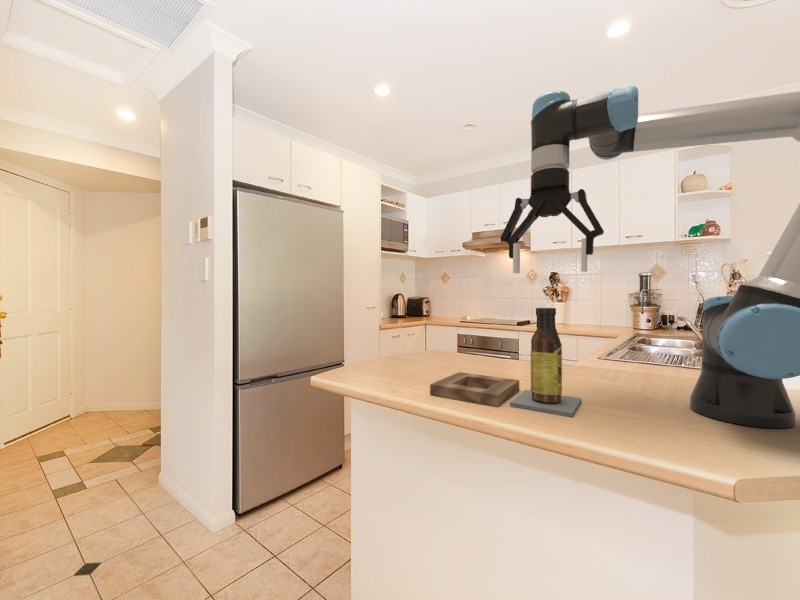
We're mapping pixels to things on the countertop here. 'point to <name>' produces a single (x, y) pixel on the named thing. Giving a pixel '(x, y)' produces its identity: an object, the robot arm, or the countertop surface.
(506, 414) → the countertop surface
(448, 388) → the caddy
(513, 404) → the mat
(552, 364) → the sauce bottle
